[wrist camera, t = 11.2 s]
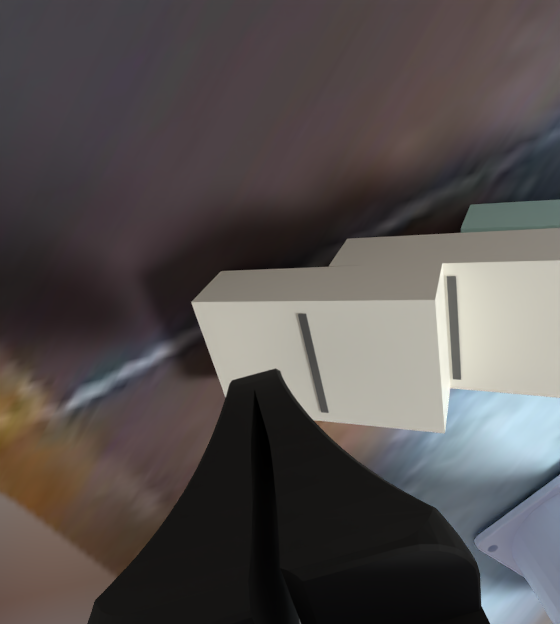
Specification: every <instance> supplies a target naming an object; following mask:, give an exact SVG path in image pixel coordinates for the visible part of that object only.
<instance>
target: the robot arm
mask: <svg viewBox="0 0 560 624" xmlns="http://www.w3.org/2000/svg"><path fill="white" fill-rule="evenodd" d="M474 543H475V545H476V546H477V548H478V549H479V550H480V551H482V552H483V553H485V554H487V555H488V556H490V557H492V558H493V559H495V560H497V561H498V562H500V563H501V564H503V565H505V566H506V567H508V568H510V569H511V570H513V571H515V572H516V573H518V574H520V575H521V576H523V577H524V578H525V579H526V580H527V582H528V583H529V585H530V587H531V588H532V590H533V592H534V593H535V595H536V596H537V598H538V600H539V601H540V603H541V605H542V606H543V608H544V609H545V611H546V613H547V614H548V616H549V618H550V619H551V621H552V622H553V624H560V475H558V476H557V477H556V478H554V479H553V480H552V481H550V482H549V483H548V484H546V485H545V486H544V487H542V488H541V489H540V490H538V491H537V492H535V493H534V494H533V495H531V496H530V497H529V498H527V499H526V500H525V501H523V502H522V503H521V504H519V505H518V506H517V507H515V508H514V509H513V510H511V511H510V512H508V513H507V514H506V515H504V516H503V517H502V518H500V519H499V520H498V521H496V522H495V523H494V524H492V525H491V526H490V527H488V528H487V529H485V530H484V531H483V532H481V533H480V534H479V535H478V536H477V537H476V538H475V540H474ZM299 620H300V621H299ZM300 622H301V624H490V623H489V621H488V619H487V617H486V615H485V613H484V611H483V609H482V607H481V588H480V573H479V569H478V565H477V563H476V561H475V559H474V557H473V555H472V554H471V552H470V551H469V549H468V548H467V546H466V545H465V543H464V542H463V541H462V539H461V538H460V536H459V535H458V534H457V532H456V531H455V530H454V529H453V527H452V526H451V525H450V524H449V523H448V521H447V520H446V519H445V518H444V517H443V516H442V515H441V513H440V512H439V511H438V510H437V509H436V508H434V507H432V506H430V505H428V504H426V503H424V502H422V501H420V500H418V499H416V498H415V497H413V496H411V495H409V494H407V493H405V492H404V491H402V490H400V489H399V488H397V487H395V486H394V485H392V484H390V483H389V482H387V481H385V480H384V479H382V478H381V477H380V476H378V475H377V474H375V473H374V472H372V471H371V470H370V469H368V468H367V467H365V466H364V465H362V464H361V463H359V462H358V461H357V460H356V459H354V458H353V457H352V456H351V455H349V454H348V453H347V452H346V451H345V450H343V449H342V448H341V447H340V446H339V445H338V444H337V443H335V442H334V441H333V440H332V439H331V438H330V437H329V436H328V435H327V434H326V433H325V432H324V431H323V430H322V429H321V428H320V427H319V426H318V425H317V424H316V423H315V422H314V421H313V419H312V418H311V417H310V416H309V415H308V414H307V412H306V411H305V410H304V409H303V407H302V406H301V405H300V404H299V402H298V401H297V400H296V398H295V397H294V396H293V394H292V393H291V391H290V390H289V388H288V386H287V385H286V383H285V381H284V379H283V377H282V375H281V371H280V370H278V369H276V368H275V369H272V370H268V371H264V372H261V373H257V374H253V375H249V376H246V377H242V378H238V379H235V380H232V381H231V383H230V384H229V387H228V391H227V395H226V398H225V402H224V405H223V408H222V411H221V414H220V417H219V419H218V422H217V424H216V427H215V430H214V432H213V435H212V437H211V440H210V442H209V444H208V446H207V448H206V450H205V453H204V455H203V457H202V459H201V461H200V463H199V465H198V467H197V469H196V471H195V473H194V475H193V477H192V478H191V480H190V482H189V484H188V485H187V487H186V489H185V490H184V492H183V494H182V495H181V497H180V498H179V500H178V502H177V503H176V505H175V506H174V508H173V509H172V511H171V512H170V514H169V515H168V517H167V518H166V520H165V521H164V522H163V524H162V525H161V526H160V528H159V529H158V530H157V532H156V533H155V534H154V536H153V537H152V538H151V539H150V541H149V542H148V543H147V544H146V546H145V547H144V548H143V549H142V550H141V552H140V553H139V554H138V555H137V556H136V558H135V559H134V560H133V561H132V562H131V563H130V564H129V566H128V567H127V568H126V569H125V570H124V571H123V572H122V573H121V574H120V575H119V576H118V577H117V578H116V579H115V580H114V582H113V583H112V584H111V585H110V586H109V587H108V588H107V589H106V590H105V591H104V592H103V593H102V594H101V595H100V596H99V597H98V598H97V599H96V600H95V602H94V605H93V609H92V612H91V615H90V618H89V621H88V624H300Z"/></svg>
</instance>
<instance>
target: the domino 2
mask: <svg viewBox="0 0 560 624" xmlns="http://www.w3.org/2000/svg"><path fill="white" fill-rule="evenodd" d="M433 262H443V276H444V293H445V309H446V325H447V342H448V358H449V374H450V388H454V389H465V390H477V391H488V392H500V393H511V394H523V395H534V396H546V397H557V398H560V228H546V229H526V230H507V231H487V232H468V233H448V234H429V235H409V236H390V237H370V238H351V239H347V240H346V241H345V243H344V244H343V246H342V247H341V249H340V250H339V251H338V253H337V254H336V256H335V257H334V259H333V260H332V262H331V263H330V265H329V267H334V266H359V265H383V264H408V263H433Z"/></svg>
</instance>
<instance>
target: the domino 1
mask: <svg viewBox="0 0 560 624" xmlns="http://www.w3.org/2000/svg"><path fill="white" fill-rule="evenodd" d="M191 303H192V306H193V309H194V312H195V314H196V317H197V320H198V323H199V326H200V328H201V331H202V334H203V337H204V339H205V342H206V345H207V348H208V350H209V353H210V356H211V359H212V361H213V364H214V367H215V370H216V372H217V375H218V378H219V381H220V383H221V386H222V389H223V392H224V395H225V397H226V395H227V391H228V387H229V384H230V383H231V381H232V380H235V379H238V378H242V377H246V376H249V375H253V374H257V373H261V372H264V371H268V370H272V369H275V368H276V369H278V370H280V371H281V375H282V377H283V379H284V381H285V383H286V385H287V386H288V388H289V390H290V391H291V393H292V394H293V396H294V397H295V398H296V400H297V401H298V402H299V404H300V405H301V406H302V407H303V409H304V410H305V411H306V412H307V414H308V415H309V416H310V417H311V418H312V419H313V420H318V421H328V422H338V423H347V424H357V425H367V426H377V427H387V428H397V429H406V430H416V431H426V432H436V433H445V428H446V420H447V411H448V403H449V394H450V374H449V358H448V342H447V325H446V309H445V293H444V276H443V262H433V263H408V264H383V265H359V266H334V267H309V268H285V269H260V270H235V271H221V272H220V273H219V274H218V275H217V276H216V277H215V278H214V279H213V280H212V281H211V282H210V283H209V284H208V285H207V286H206V287H205V288H204V289H203V290H202V291H201V292H200V293H199V294H198V295H197V296H196V297H195V299H194V300H193V301H192V302H191Z"/></svg>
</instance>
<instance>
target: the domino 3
mask: <svg viewBox="0 0 560 624" xmlns="http://www.w3.org/2000/svg"><path fill="white" fill-rule="evenodd" d="M546 228H560V199H558V200H541V201H524V202H506V203H489V204H471V205H470V207H469V210H468V212H467V214H466V217H465V219H464V222H463V224H462V226H461V233H468V232H487V231H507V230H526V229H546Z"/></svg>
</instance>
